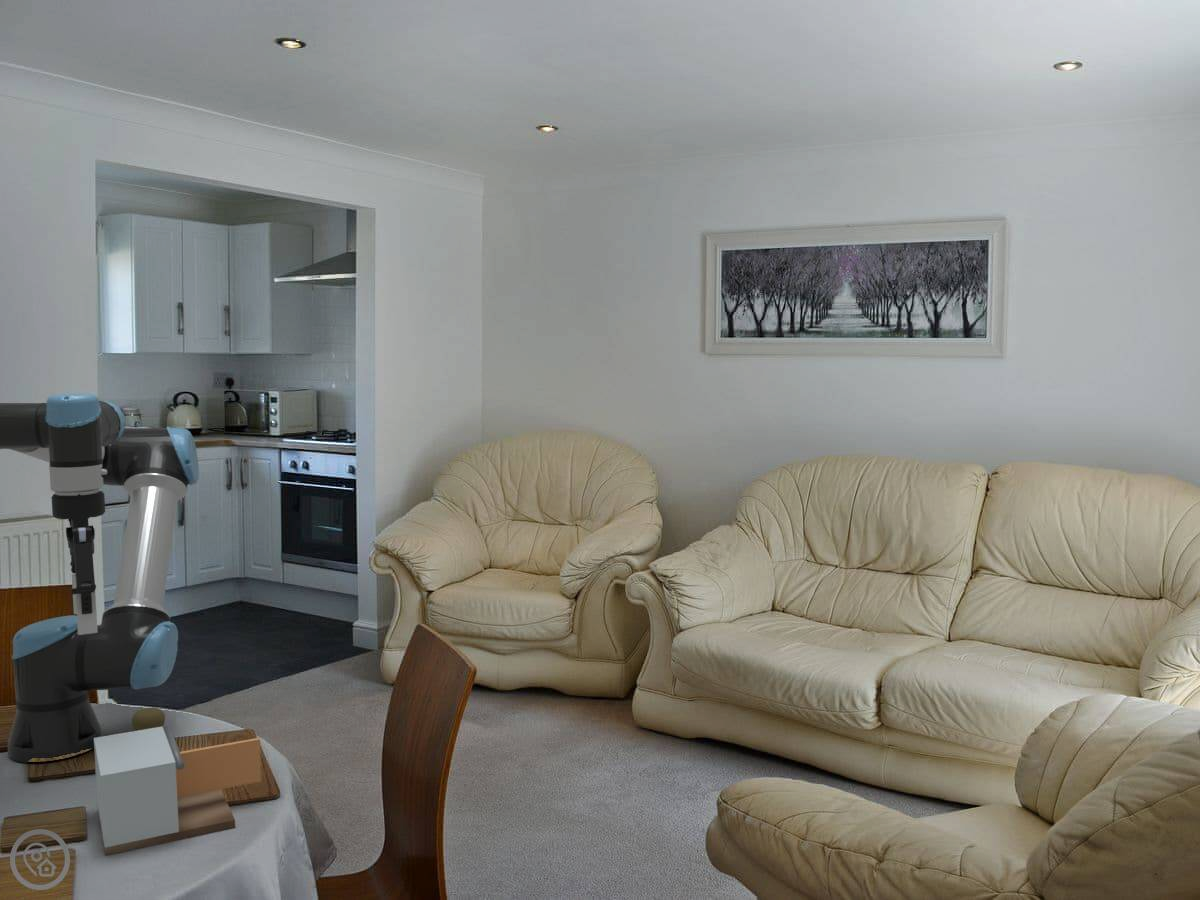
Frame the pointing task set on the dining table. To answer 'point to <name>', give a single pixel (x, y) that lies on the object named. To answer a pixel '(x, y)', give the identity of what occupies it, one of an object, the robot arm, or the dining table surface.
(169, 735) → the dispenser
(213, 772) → the orange rectangular panel
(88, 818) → the dining table surface
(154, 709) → the olive brown ellipsoid
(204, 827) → the walnut board
